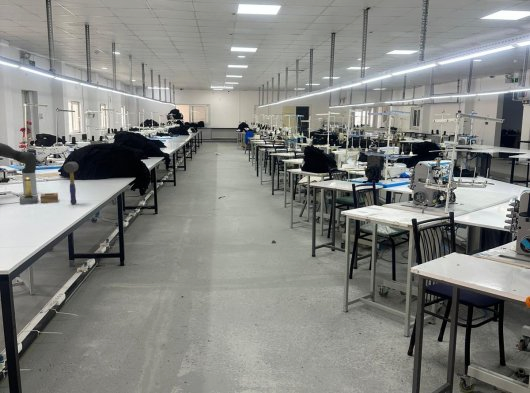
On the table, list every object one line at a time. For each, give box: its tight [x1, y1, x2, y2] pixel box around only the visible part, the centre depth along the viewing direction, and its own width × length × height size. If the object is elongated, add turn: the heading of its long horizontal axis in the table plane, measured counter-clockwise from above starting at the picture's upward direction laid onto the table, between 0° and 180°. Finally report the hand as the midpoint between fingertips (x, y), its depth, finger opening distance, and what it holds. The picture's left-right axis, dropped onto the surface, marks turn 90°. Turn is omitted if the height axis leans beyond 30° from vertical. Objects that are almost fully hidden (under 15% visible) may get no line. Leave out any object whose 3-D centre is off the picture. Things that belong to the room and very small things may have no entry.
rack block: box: [40, 192, 59, 204], centre depth 311 cm, size 12×11×5 cm
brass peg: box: [24, 177, 33, 198], centre depth 305 cm, size 4×4×18 cm
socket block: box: [18, 194, 40, 205], centre depth 306 cm, size 12×11×4 cm
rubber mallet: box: [63, 161, 79, 206], centre depth 300 cm, size 12×8×30 cm, turn 9°
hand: (9, 180), depth 299 cm, fingers open, 8 cm apart
